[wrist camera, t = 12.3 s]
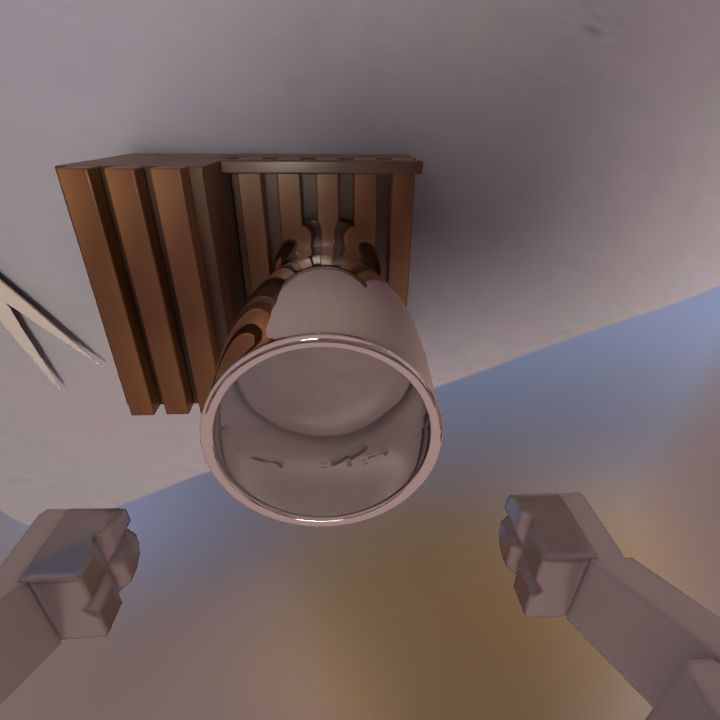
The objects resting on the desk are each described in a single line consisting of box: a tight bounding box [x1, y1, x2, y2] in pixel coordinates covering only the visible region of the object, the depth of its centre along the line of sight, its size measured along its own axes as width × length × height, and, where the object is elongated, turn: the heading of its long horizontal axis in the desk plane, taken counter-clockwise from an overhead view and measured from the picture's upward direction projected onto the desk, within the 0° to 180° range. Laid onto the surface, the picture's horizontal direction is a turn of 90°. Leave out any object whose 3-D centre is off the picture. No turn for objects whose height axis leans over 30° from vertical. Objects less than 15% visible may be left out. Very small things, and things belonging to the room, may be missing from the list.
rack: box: [55, 154, 423, 415], centre depth 24 cm, size 16×12×9 cm
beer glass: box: [200, 220, 443, 526], centre depth 18 cm, size 7×7×15 cm
